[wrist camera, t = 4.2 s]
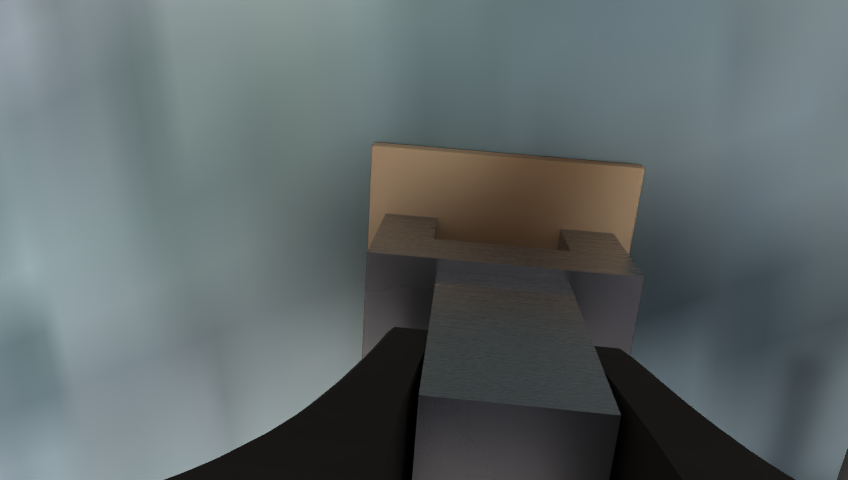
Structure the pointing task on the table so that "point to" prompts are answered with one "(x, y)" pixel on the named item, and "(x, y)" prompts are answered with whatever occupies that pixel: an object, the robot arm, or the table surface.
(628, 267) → the slotted grey block
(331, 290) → the table surface
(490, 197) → the pad
